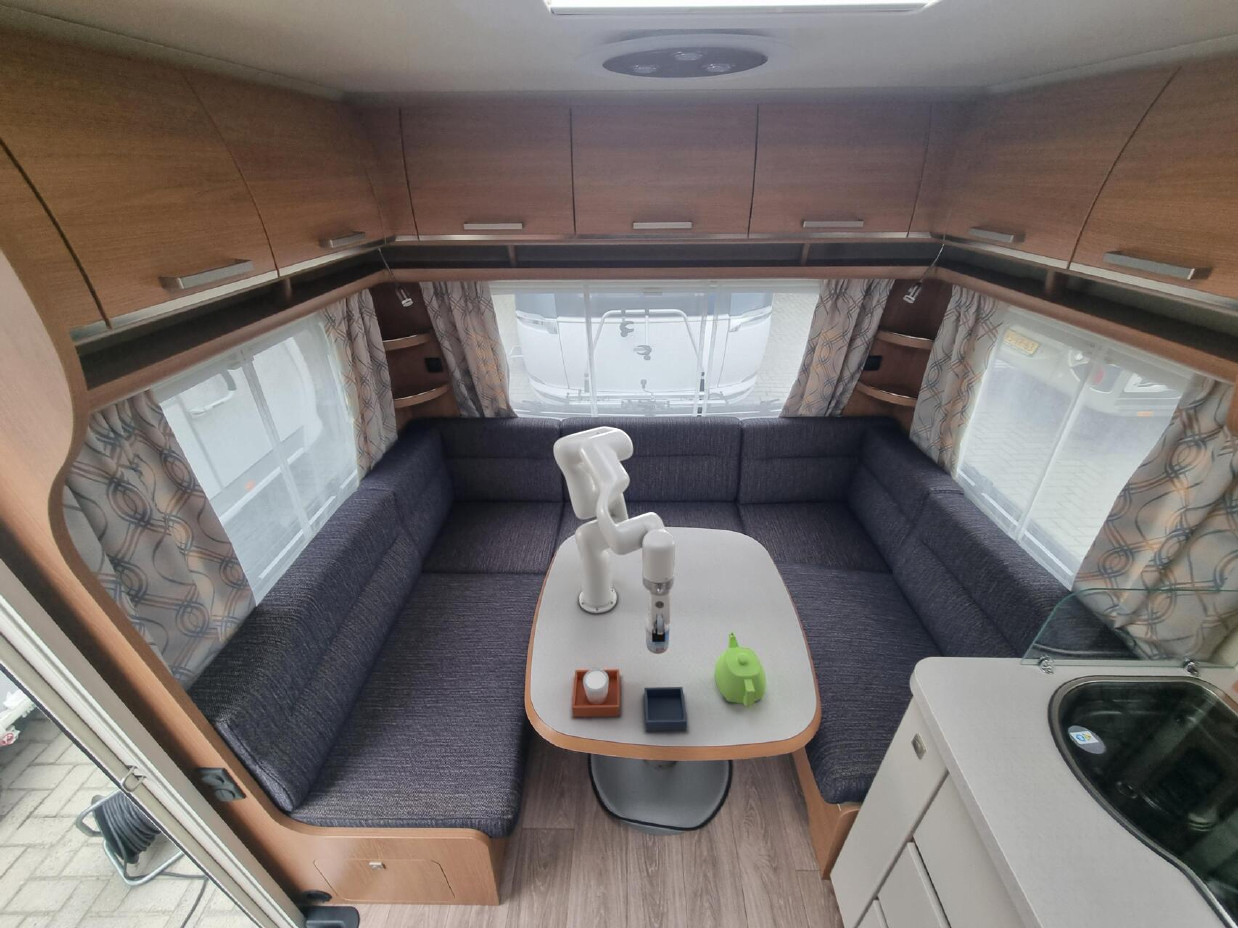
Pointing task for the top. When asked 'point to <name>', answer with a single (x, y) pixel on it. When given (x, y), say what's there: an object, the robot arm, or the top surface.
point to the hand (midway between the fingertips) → (657, 629)
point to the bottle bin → (665, 709)
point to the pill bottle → (656, 646)
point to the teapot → (740, 674)
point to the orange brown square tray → (587, 709)
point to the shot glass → (596, 686)
